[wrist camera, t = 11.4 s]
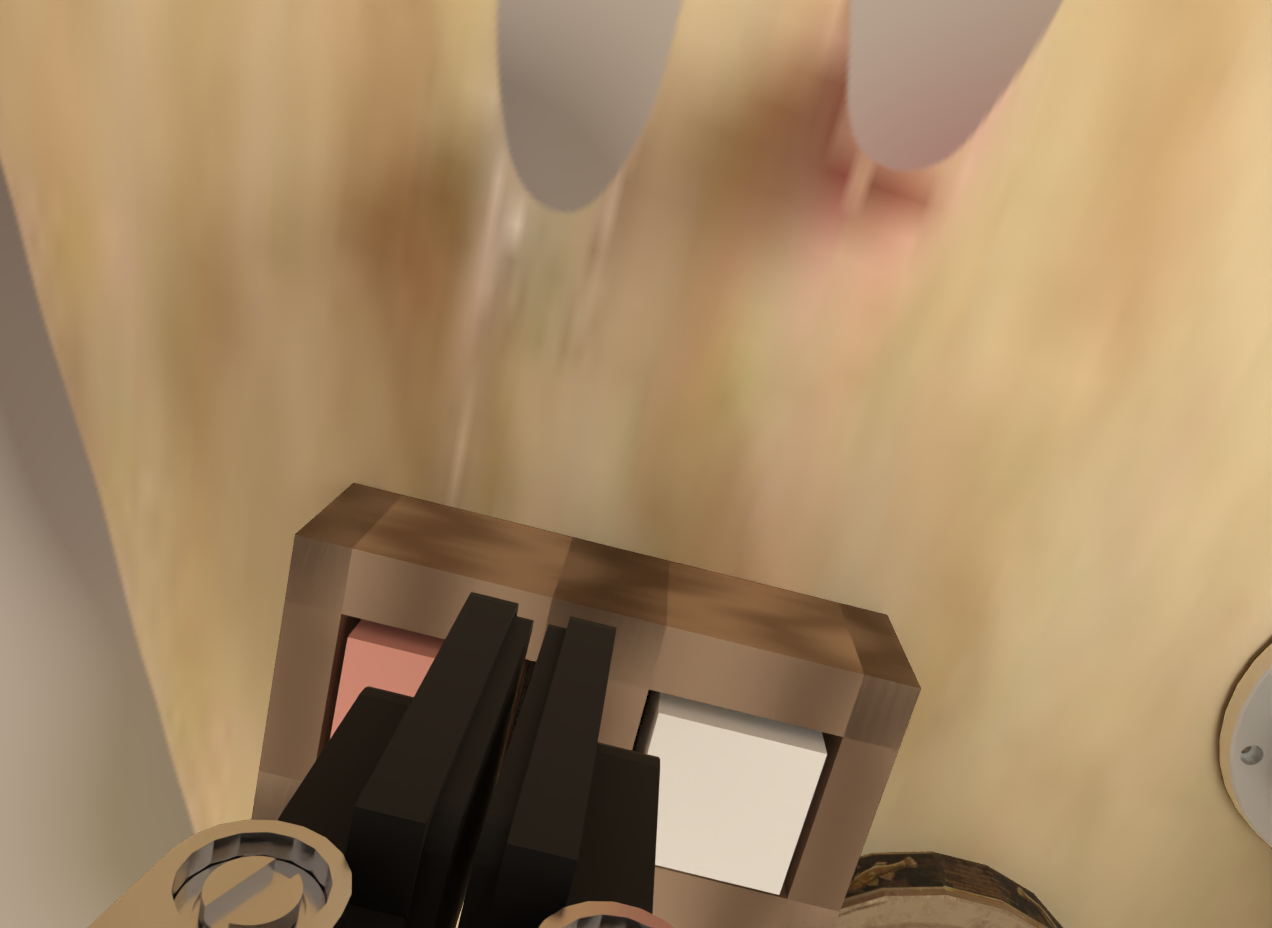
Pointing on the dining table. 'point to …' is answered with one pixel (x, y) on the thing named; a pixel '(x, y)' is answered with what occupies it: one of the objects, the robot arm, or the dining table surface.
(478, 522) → the frame
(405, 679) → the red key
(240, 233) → the dining table surface
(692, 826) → the white block
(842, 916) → the brown flat disc
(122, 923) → the robot arm
